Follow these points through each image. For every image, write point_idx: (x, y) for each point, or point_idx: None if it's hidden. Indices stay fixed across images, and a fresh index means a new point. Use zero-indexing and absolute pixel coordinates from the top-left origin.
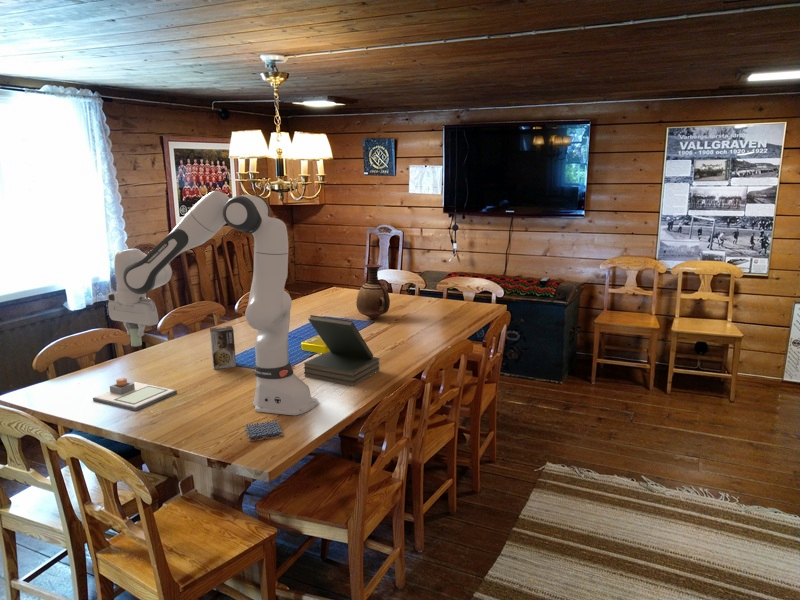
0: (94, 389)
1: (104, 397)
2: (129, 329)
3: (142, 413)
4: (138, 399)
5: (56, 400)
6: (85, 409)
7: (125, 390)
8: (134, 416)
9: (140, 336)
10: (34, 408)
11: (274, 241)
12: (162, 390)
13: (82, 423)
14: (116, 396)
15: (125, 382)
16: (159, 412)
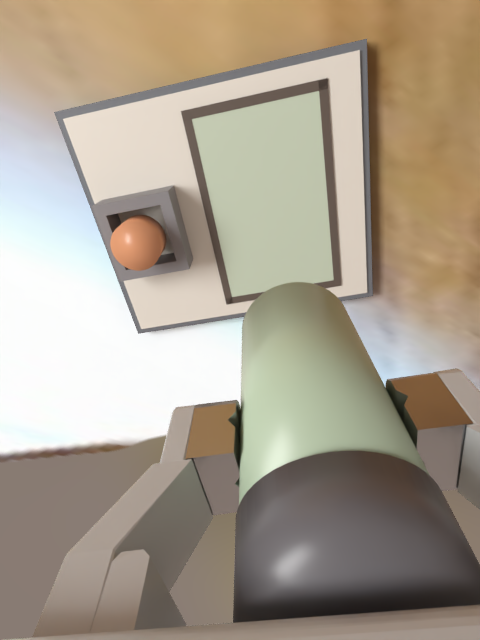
0: (9, 269)
1: (171, 311)
2: (214, 498)
3: (412, 289)
4: (310, 246)
5: (46, 388)
6: (203, 374)
7: (186, 240)
8: (407, 318)
9: (372, 364)
10: (76, 441)
11: None
12: (308, 104)
13: None
14: (198, 280)
15: (160, 236)
16: (470, 247)
